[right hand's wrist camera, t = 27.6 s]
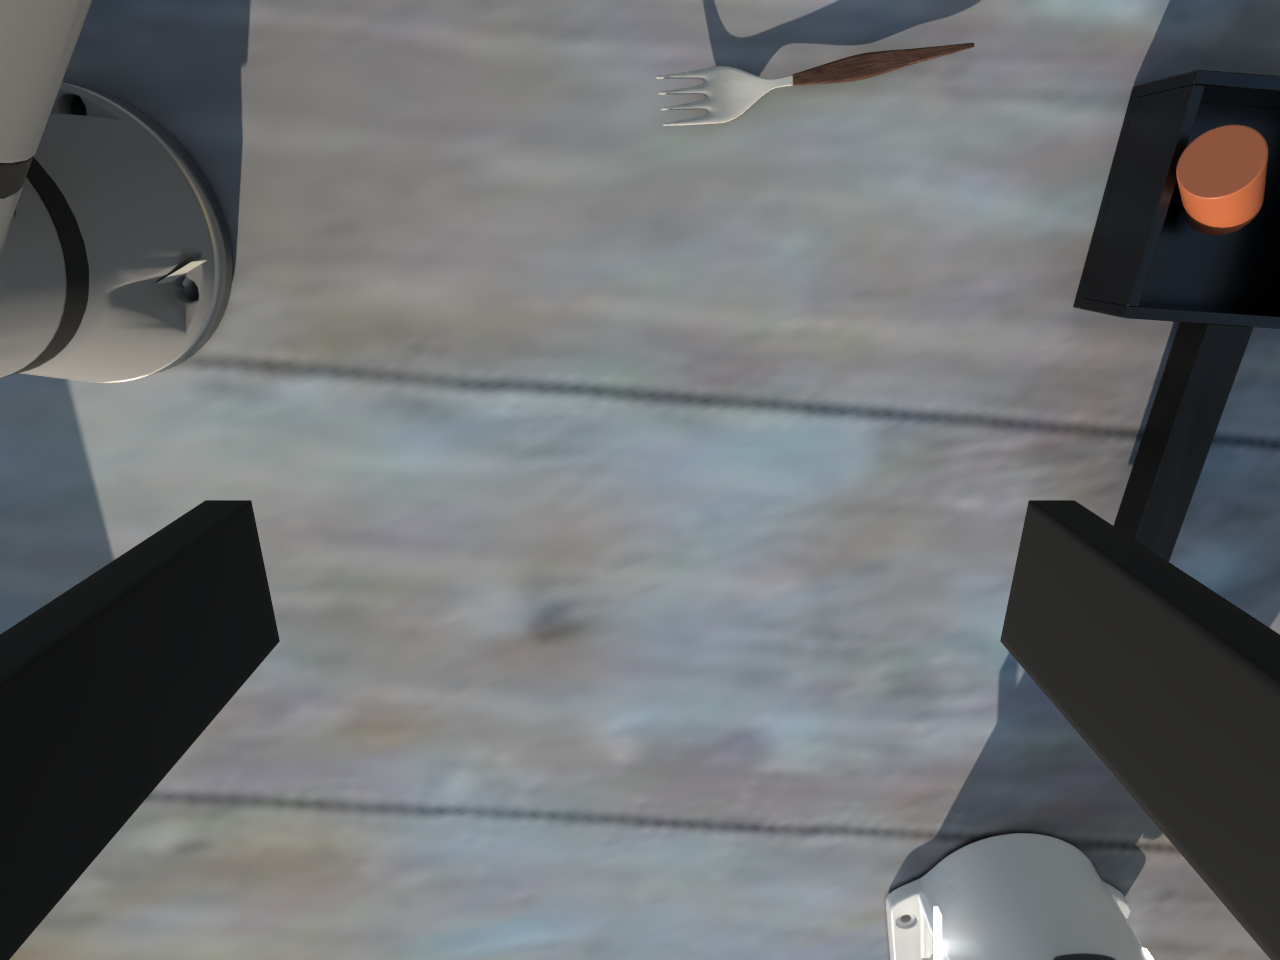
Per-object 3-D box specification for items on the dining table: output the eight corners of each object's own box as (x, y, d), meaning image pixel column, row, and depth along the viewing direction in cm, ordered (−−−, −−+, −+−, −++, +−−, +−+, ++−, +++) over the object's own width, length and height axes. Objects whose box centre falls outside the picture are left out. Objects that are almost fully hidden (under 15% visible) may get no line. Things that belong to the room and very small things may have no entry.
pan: (1132, 86, 37) (1197, 69, 33) (1343, 102, 37) (1436, 87, 33) (997, 585, 47) (1033, 623, 43) (1163, 595, 47) (1216, 633, 43)
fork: (970, 76, 37) (987, 68, 35) (662, 134, 38) (664, 130, 36) (969, 18, 36) (987, 6, 34) (655, 79, 37) (655, 71, 35)
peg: (1182, 240, 38) (1174, 205, 33) (1186, 179, 38) (1178, 134, 33) (1261, 230, 36) (1265, 190, 31) (1266, 166, 36) (1271, 115, 31)
